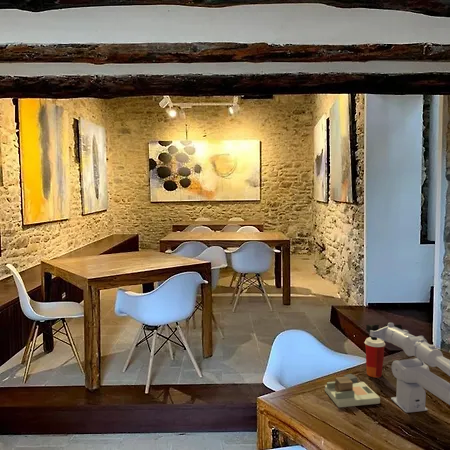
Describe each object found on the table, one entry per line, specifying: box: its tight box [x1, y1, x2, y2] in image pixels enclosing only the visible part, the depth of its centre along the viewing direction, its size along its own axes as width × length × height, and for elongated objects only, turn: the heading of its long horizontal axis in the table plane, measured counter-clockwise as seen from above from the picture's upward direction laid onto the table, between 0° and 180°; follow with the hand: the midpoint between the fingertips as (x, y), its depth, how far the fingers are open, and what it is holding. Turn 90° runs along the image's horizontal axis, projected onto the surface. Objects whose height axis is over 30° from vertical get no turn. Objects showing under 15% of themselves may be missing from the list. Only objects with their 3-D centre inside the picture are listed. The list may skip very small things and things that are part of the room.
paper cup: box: [363, 336, 386, 379], centre depth 171 cm, size 8×8×14 cm
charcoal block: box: [343, 373, 358, 383], centre depth 163 cm, size 4×4×4 cm
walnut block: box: [334, 376, 353, 392], centre depth 153 cm, size 4×4×4 cm
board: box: [324, 381, 381, 408], centre depth 154 cm, size 12×15×4 cm
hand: (376, 327), depth 166 cm, fingers open, 7 cm apart
